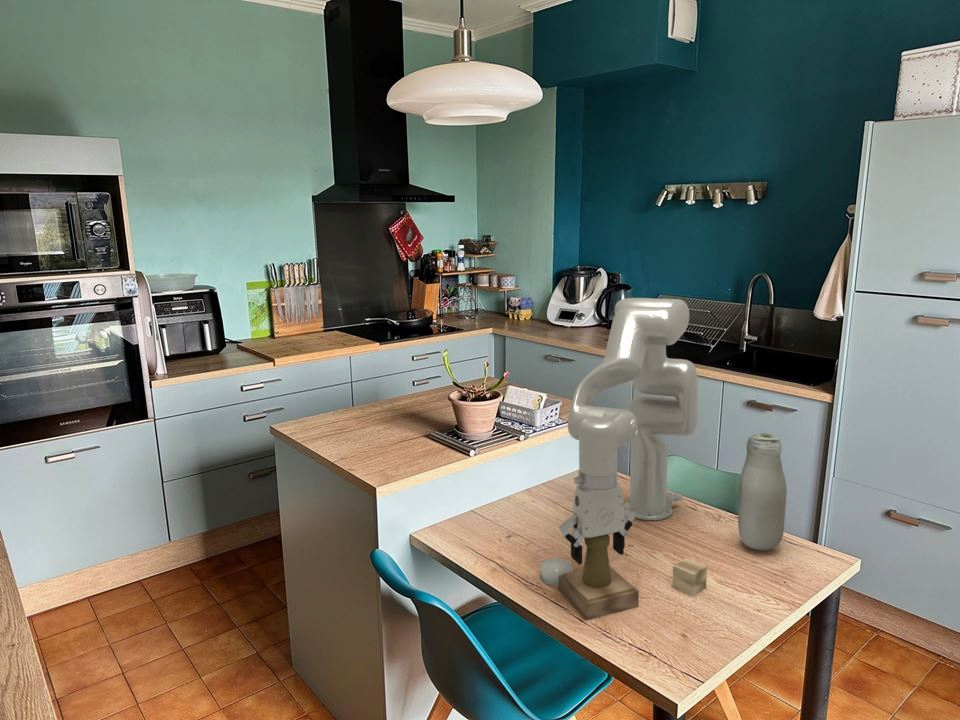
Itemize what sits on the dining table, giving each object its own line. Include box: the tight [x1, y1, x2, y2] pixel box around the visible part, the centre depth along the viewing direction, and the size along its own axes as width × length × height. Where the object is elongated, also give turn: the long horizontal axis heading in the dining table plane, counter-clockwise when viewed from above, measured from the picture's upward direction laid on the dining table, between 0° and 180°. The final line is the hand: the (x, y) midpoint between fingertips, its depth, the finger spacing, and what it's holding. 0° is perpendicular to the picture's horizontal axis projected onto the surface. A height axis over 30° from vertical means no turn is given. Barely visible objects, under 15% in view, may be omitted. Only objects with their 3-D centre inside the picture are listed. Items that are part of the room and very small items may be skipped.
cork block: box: [671, 557, 708, 597], centre depth 146 cm, size 5×5×5 cm
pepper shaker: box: [582, 534, 612, 588], centre depth 142 cm, size 6×6×11 cm
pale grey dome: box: [540, 557, 573, 587], centre depth 152 cm, size 7×7×3 cm
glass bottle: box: [737, 432, 788, 551], centre depth 160 cm, size 10×10×28 cm
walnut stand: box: [558, 566, 640, 621], centre depth 143 cm, size 12×12×4 cm
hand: (597, 556), depth 142 cm, fingers open, 9 cm apart
